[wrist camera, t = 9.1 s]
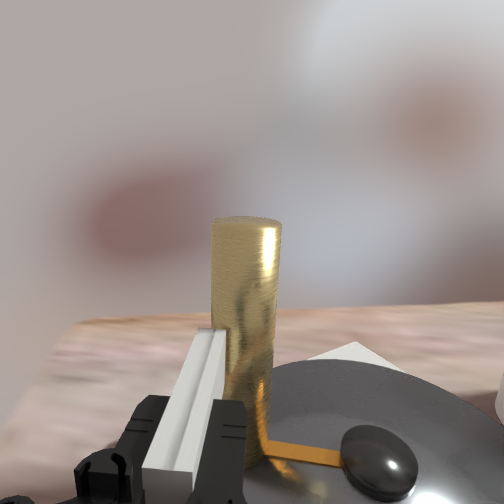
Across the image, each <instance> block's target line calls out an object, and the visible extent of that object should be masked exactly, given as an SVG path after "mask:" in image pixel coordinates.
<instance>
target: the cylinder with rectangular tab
mask: <svg viewBox="0 0 504 504" xmlns="http://www.w3.org/2000/svg"><path fill="white" fill-rule="evenodd" d="M495 409H496V414H497V415H498V417H499V419H500V420H501V422H502V424H503V425H504V374H503V377H502V380H501V384H500V387H499V390H498V394H497V397H496V400H495Z"/></svg>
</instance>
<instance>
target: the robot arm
mask: <svg viewBox="0 0 504 504" xmlns="http://www.w3.org/2000/svg"><path fill="white" fill-rule="evenodd" d="M225 358H226V330H224V329H211V328H198V331H197V333H196V336H195V338H194V340H193V343H192V345H191V348H190V350H189V353H188V355H187V358H186V360H185V362H184V365H183V367H182V370H181V372H180V375H179V377H178V380H177V382H176V384H175V387H174V389H173V392H172V394H171V396H158V395H148V396H147V397H146V398H145V399H144V400H143V401H142V402H141V403H139V404H138V405H137V407H136V409H135V411H134V413H133V415H132V416H131V419H130V421H129V422H128V424H127V426H126V428H125V431H124V432H123V433H122V435H121V437H120V439H119V441H118V443H117V445H116V447H115V448H110V449H103V450H100V451H97V452H94V453H92V454H91V455H89V456H88V457H86V458H85V459H83V460H82V461H81V462H80V463H79V465H78V466H77V467H76V468H75V469H74V476H75V483H76V490H77V497H75V498H73V499H70V500H67V501H64V502H61V503H57V504H247V502H246V500H245V498H244V494H243V480H244V467H245V453H246V437H247V418H248V412H247V410H246V408H245V405H244V403H243V401H236V400H222V396H223V390H224V385H225ZM0 504H34V502H33V501H32V500H31V499H30V498H29V497H26V496H19V495H17V496H12V497H7V498H4V499H2V500H0Z"/></svg>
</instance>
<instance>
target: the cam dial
mask: <svg viewBox="0 0 504 504" xmlns="http://www.w3.org/2000/svg"><path fill="white" fill-rule="evenodd" d="M211 224H212V225H211V235H212V236H211V241H212V242H211V246H212V247H211V275H212V276H211V302H212V303H211V329H224V330H226V358H225V385H224V390H223V396H222V400H236V401H243V403H244V405H245V408H246V410H247V412H248V418H247V437H246V453H245V467H244V480H243V494H244V498H245V500H246V502H247V504H504V427H503V426H502V425H500V424H499V423H498V422H496V421H495V420H494V419H492V418H491V417H489V416H488V415H486V414H485V413H483V412H482V411H480V410H479V409H477V408H476V407H474V406H473V405H471V404H469V403H468V402H466V401H464V400H462V399H461V398H459V397H457V396H456V395H454V394H452V393H450V392H448V391H446V390H444V389H442V388H440V387H438V386H436V385H434V384H431V383H429V382H427V381H424V380H422V379H420V378H417V377H415V376H412V375H409V374H406V373H404V372H401V371H397V370H394V369H391V368H387V367H384V366H379V365H375V364H370V363H365V362H359V361H352V360H341V359H315V360H304V361H298V362H292V363H289V364H285V365H281V366H278V367H275V368H273V355H274V339H275V323H276V307H277V291H278V275H279V260H280V244H281V228H282V224H281V223H280V222H278V221H276V220H272V219H268V218H261V217H249V216H235V217H224V218H218V219H215V220H213V221H212V223H211Z"/></svg>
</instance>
